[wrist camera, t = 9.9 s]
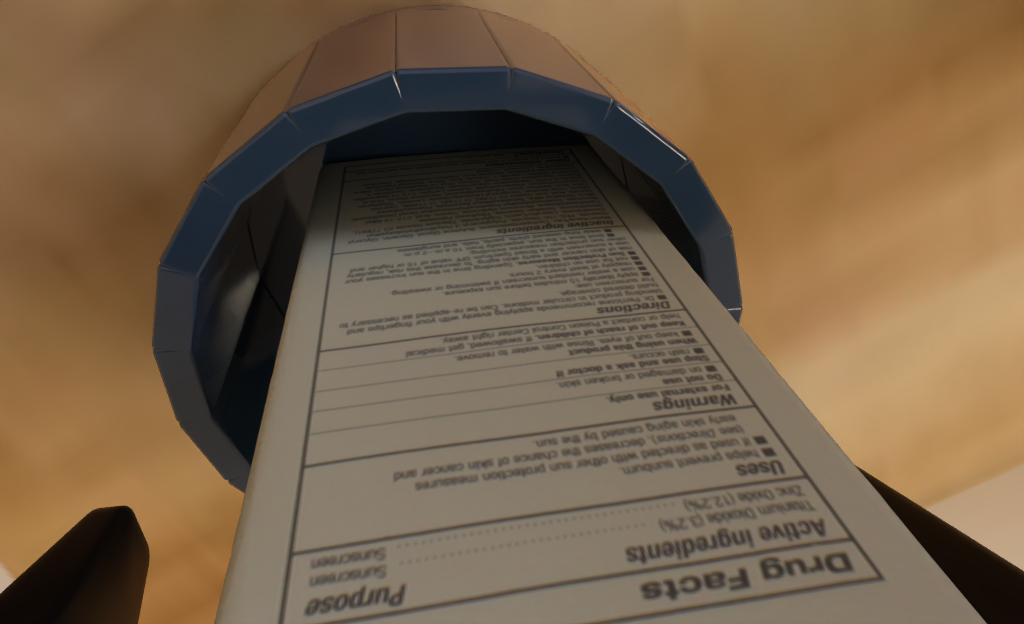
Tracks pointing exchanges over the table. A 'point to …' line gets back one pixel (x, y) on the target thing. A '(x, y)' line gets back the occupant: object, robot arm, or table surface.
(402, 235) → the cosmetic box
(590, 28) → the table surface
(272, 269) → the crock
